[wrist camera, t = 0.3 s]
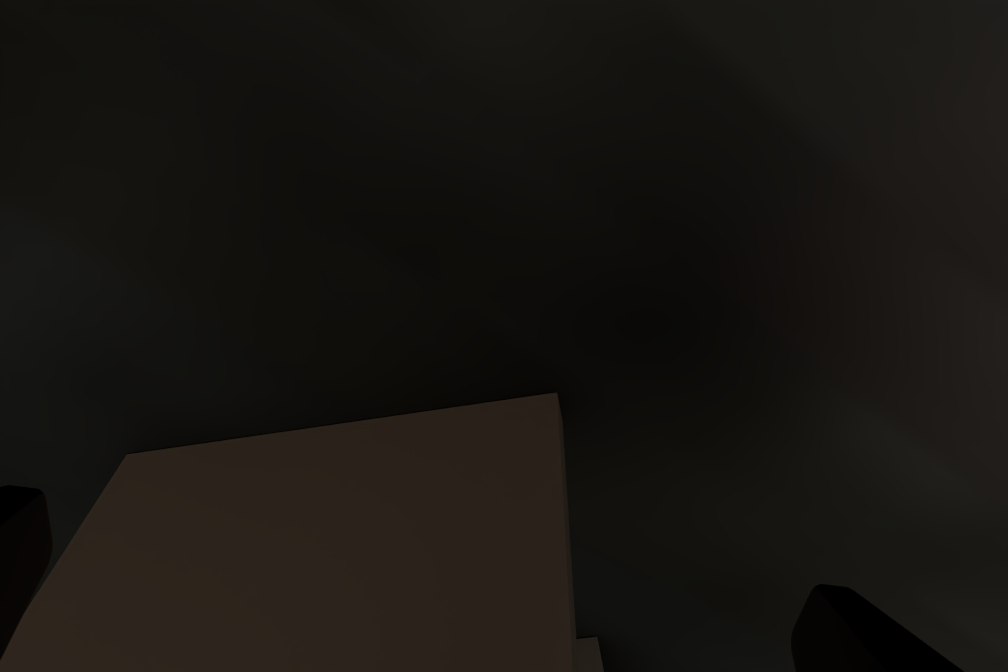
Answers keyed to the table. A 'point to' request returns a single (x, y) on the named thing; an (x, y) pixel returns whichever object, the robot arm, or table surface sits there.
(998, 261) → the table surface
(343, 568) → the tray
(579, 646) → the sleeve
